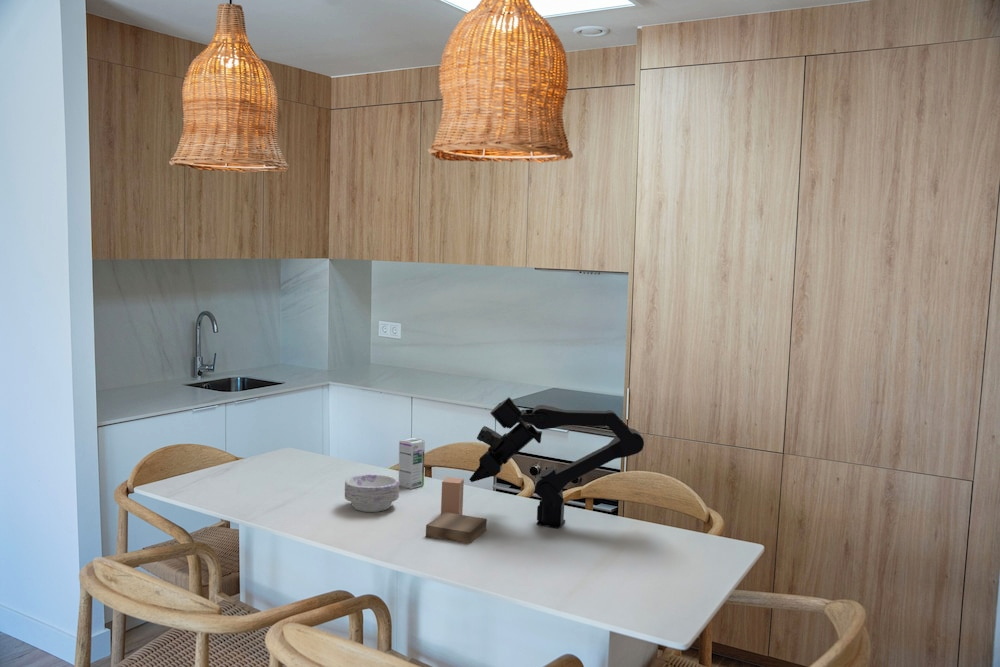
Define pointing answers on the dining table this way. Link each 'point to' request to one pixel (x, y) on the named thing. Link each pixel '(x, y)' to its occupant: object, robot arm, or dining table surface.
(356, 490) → the paper bowls
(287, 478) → the dining table surface
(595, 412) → the robot arm
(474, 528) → the walnut plinth
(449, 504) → the terracotta block
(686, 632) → the dining table surface
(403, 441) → the syrup box
